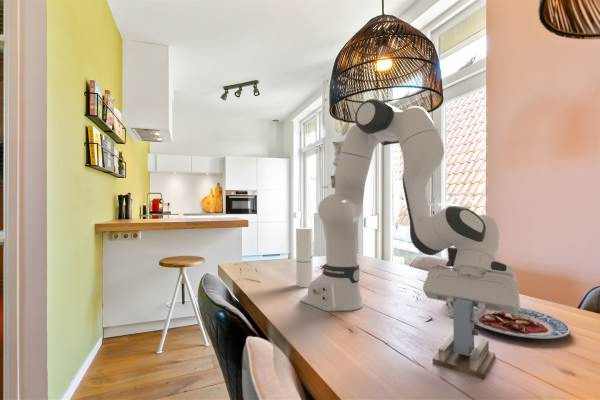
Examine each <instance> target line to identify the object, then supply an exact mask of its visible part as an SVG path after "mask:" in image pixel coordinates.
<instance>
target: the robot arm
mask: <svg viewBox="0 0 600 400" xmlns="http://www.w3.org/2000/svg"><path fill="white" fill-rule="evenodd" d="M354 119H355V120H354V121H355V124H353V125H352V126H350V128H349V129H348V130H347V133H346V135H345V138H344V140H343V143H342V144H341V145H342V146H341V149H340V153H339V157H338V160H337V164H336V168H335V171H334V178H335V182H334V183H335V185H334V186H335V187H334V193H333V194H332V193H331V194H330V195H327V196H325V197H324V198H323V199H321V201H320V203H319V205H318V208H317V212H318V216H319V219H320V220H321V222H322V226H323V232H324V237H325V238H324V239H325V244H326V245H325V246H326V247H325V248H326V249H325V251H326V252H325V253H326V259H325V261H326V263H324V264H323V265H320V266H319V267H320V268H319V269H320V270H322V273H321V275H319V276H318V277H316V278H315V279H313V281H312V282H311V283H310V285H309V287H308V288H307V294H304V295H303V296H302V297H301V302H302V303H306V304H308V305H310V306H313V307H315V308H318V309H320V310H323V311H325V312H335V311H340V312H341V311H342V312H344V311H348V312H349V311H353V310H354V311H355V310H358V309H361V308H362V307H363V306H364V303H363V300H362V295H361V289H360V264H359V261H358V260H359V253H358V251H359V249H358V248H359V246H358V244H359V242H358V240H357V237H356V233H355V227H354V226H355V225H354V223H355V222H357V221H358V219H359V218H360V217H361V215H362V212H363V203H364V196H365V188H366V182H367V178H368V173H369V170H370V167H371V163H372V159H373V155H374V151H375V148H376V147H377V145H379V144H381V145H382V146H388V145H393V144H399V147H400V151H401V153H402V159H403V161H402V162H403V172H402V188H403V192H404V197H405V202H406V209H407V214H408V218H409V237H410V240H411V243H412V245H413V246H414V247H415V248H416V249H417V250H418V251H419V252H421V253H422V254H425V255H428V256H434V255H436V254H438V253H441V252H442V251H444V250H447V249H448V248H449V247H456V248H457V254H456V258H455V262H454V267H448V266H446V265H445V266H444V265H435V266H432V267H430V268H429V269H428V272H427V277H426V279H425V280H424V283H423V285H422V286H423V287H422V290H423V292H424V294H425V296H426V297H427V299H432V300H437V301H441V302H446V301H447V302H446V304H447V306H448V308H449V311H448V318H449V319H451V320H453V302H455V301H456V300H457V299H458V298H460V299H466V300H471V301H474V307H478V308H479V309H478V310H477V311H476V313H471V315H470V316H471V317H470V322H471V323H473V324H474V325H476V324H477V325H476V326H478V323H479V318H481V317H482V316H483V315H484V314H485V313H486V310H487V309H489V310H494V311H499V312H505V313H510V314H516V313H518V312H519V311H520V308H521V300H520V291H519V287H518V284H517V277H516V273H515V270H514V268H513V266H511V265H510V264H508V263H504V262H500V261H498V260H496V257H495V256H496V254H497V253H498V248H499V239H500V233H499V226H498V223H497V222H496V221H495V219H494V218H493V217H491V216H490V215H487V214H485V213H476V212H474V211H473V210H471V209H470V208H468V207H466V206H464V205H461V204H456V203H455V204H450V205H448V206H446V207H443V208H441V209H440V210H439V211H436V212H435V213H433V214H431V212H430V207H429V203H428V199H427V194H426V191H427V185H428V183H429V181H430V179H431V178H432V176H433V174H435V173H434V172H436V170H437V169H438V167H440V164H441V163H442V161H443V158H444V155H445V147H444V143H443V140H442V138H441V136H440V132H439V131H438V128H437V126H436V124H435V122H434V121H433V119H432V118H431V116H430V115H429V113H428V112H427V111H426V110H425V109H424V108H423V107H420V106H410V107H407V108H405V109H403V110H401V109H399V108H397V107H396V106H394V105H391V104H389V103H386V102H385V101H383V100H379V99H374V98H372V99H371V98H369V99H367V100H365V101H363V102H362V103H361V104H360V105H359V106H358V108H357V109H356V112H355V118H354Z"/></svg>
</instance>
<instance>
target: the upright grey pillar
mask: <svg viewBox="0 0 600 400" xmlns="http://www.w3.org/2000/svg"><path fill="white" fill-rule="evenodd" d="M452 308H453V319H452V320H453V321H452V322H453V333H454V352H456V353H460V354H463V355H467V356H469V355H470V353H471V352H472V351H473V349H474V347H475V336H476V337H478V336H479V330H478V329H475V324H473V323H471V322H470V317H471V316H470V315H471V313H474V301H471V300H466V299H460V298H458V299H457V300H456V301H455V302H453V306H452Z"/></svg>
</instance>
